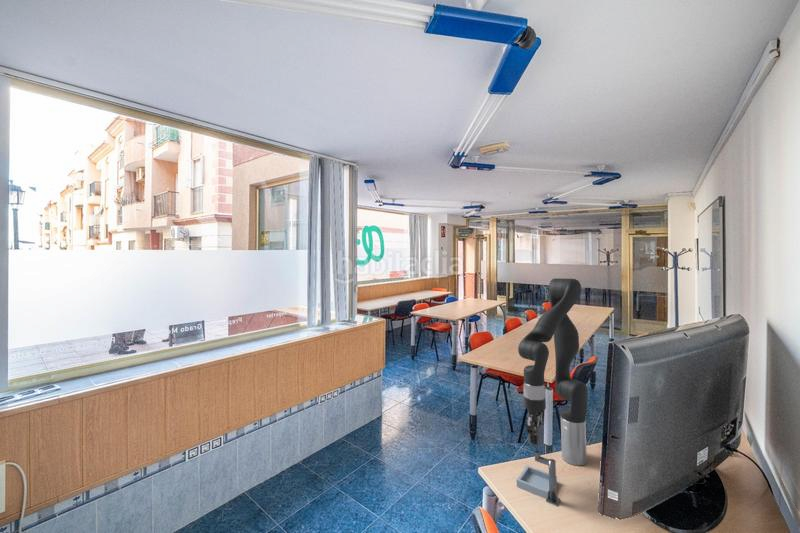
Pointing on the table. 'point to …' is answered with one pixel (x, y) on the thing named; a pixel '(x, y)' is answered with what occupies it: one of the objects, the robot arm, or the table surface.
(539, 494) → the bay
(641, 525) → the table surface
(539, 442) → the plug block
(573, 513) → the table surface
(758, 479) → the table surface
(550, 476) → the hook post
